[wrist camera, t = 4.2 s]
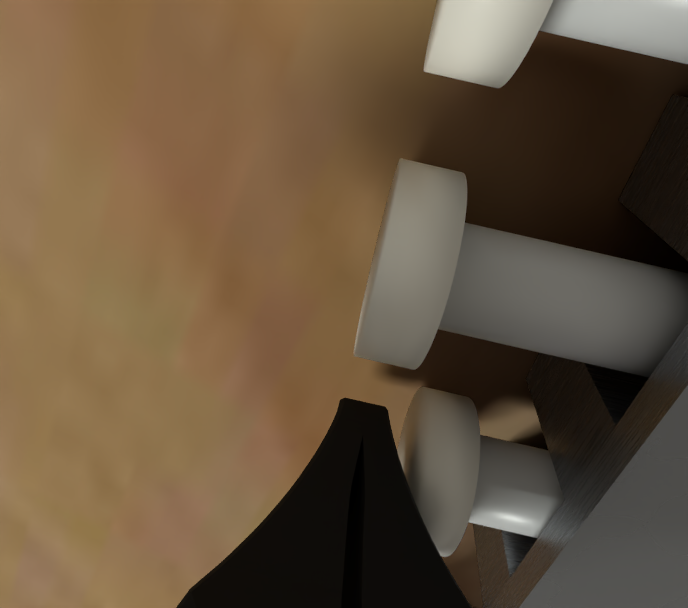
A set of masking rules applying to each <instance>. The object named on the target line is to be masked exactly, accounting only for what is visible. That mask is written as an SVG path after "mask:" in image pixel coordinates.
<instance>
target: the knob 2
mask: <svg viewBox="0 0 688 608" xmlns="http://www.w3.org/2000/svg"><path fill="white" fill-rule="evenodd" d="M397 453H398V456H399V459H400V462H401V465H402V468H403V471H404V474H405V477H406V480H407V483H408V485H409V488H410V491H411V493H412V496H413V498H414V501H415V503H416V506H417V508H418V510H419V513H420V515H421V517H422V519H423V522H424V524H425V526H426V528H427V530H428V532H429V534H430V536H431V538H432V540H433V542H434V544H435V546H436V548H437V550H438V552H439V554H440V556H443V557H448V556H450V555H451V554H452V553H453V552H454V551H455V550H456V548H457V547H458V545H459V544H460V542H461V540H462V538H463V535H464V533H465V530H466V528H467V525H468V522H470V523H474V524H478V525H483V526H487V527H491V528H496V529H500V530H504V531H509V532H513V533H517V534H522V535H526V536H530V537H535V538H538V537H539V536H540V534H541V533H542V531H543V530H544V528H545V527H546V526H547V524H548V523H549V521H550V520H551V518H552V517H553V515H554V514H555V513H556V511H557V510H558V508H559V507H560V505H561V504H562V503H563V501H564V497H563V494H562V491H561V488H560V484H559V481H558V478H557V475H556V472H555V469H554V466H553V462H552V459H551V456H550V453H549V450H544V449H540V448H536V447H531V446H527V445H522V444H518V443H514V442H509V441H505V440H501V439H496V438H492V437H488V436H483V435H480V427H479V419H478V414H477V410H476V407H475V405H474V403H473V401H472V400H471V399H470V398H469V397H466V396H462V395H457V394H453V393H449V392H444V391H440V390H436V389H431V388H427V387H421V388H419V389H418V390H417V392H416V393H415V395H414V397H413V399H412V401H411V404H410V406H409V409H408V412H407V415H406V418H405V421H404V425H403V428H402V432H401V436H400V441H399V445H398V450H397Z"/></svg>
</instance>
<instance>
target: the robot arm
mask: <svg viewBox="0 0 688 608" xmlns="http://www.w3.org/2000/svg"><path fill="white" fill-rule="evenodd" d="M176 608H472V607H471V606H470V604H469V603H468V601H467V600H466V598H465V596H464V595H463V593H462V591H461V590H460V588H459V586H458V585H457V583H456V581H455V580H454V578H453V576H452V575H451V573H450V571H449V570H448V568H447V566H446V565H445V563H444V561H443V559H442V557H441V556H440V554H439V552H438V550H437V548H436V546H435V544H434V542H433V540H432V538H431V536H430V534H429V532H428V530H427V528H426V526H425V524H424V522H423V519H422V517H421V515H420V513H419V510H418V508H417V506H416V503H415V501H414V498H413V496H412V493H411V491H410V488H409V485H408V483H407V480H406V477H405V474H404V471H403V468H402V465H401V462H400V459H399V456H398V453H397V449H396V446H395V442H394V438H393V434H392V430H391V425H390V420H389V415H388V410H387V409H386V407H384V406H379V405H375V404H370V403H366V402H362V401H357V400H353V399H348V398H343V399H341V400H340V403H339V407H338V410H337V413H336V415H335V418H334V420H333V422H332V424H331V426H330V428H329V430H328V432H327V434H326V436H325V438H324V439H323V441H322V443H321V444H320V446H319V448H318V450H317V451H316V453H315V455H314V456H313V458H312V459H311V461H310V462H309V463H308V465H307V466H306V468H305V469H304V471H303V472H302V474H301V475H300V477H299V478H298V479H297V481H296V482H295V483H294V485H293V486H292V487H291V488H290V490H289V491H288V492H287V494H286V495H285V496H284V497H283V498H282V500H281V501H280V502H279V503H278V505H277V506H276V507H275V508H274V509H273V510H272V511H271V512H270V514H269V515H268V516H267V517H266V518H265V519H264V520H263V522H262V523H261V524H260V525H259V526H258V527H257V528H256V529H255V530H254V531H253V532H252V533H251V534H250V535H249V536H248V537H247V538H246V539H245V540H244V541H243V542H242V543H241V544H240V545H239V546H238V547H237V548H236V549H235V550H234V551H233V552H232V553H231V554H230V555H229V556H227V557H226V558H225V559H224V560H223V561H222V562H221V563H220V564H219V565H217V566H216V567H215V568H214V569H213V570H212V571H210V572H209V573H208V574H207V575H206V576H205V577H203V578H202V579H201V580H200V581H199V582H198V583H196V584H195V585H194V586H193V587H192V588H191V589H190V590H189V591H188V593H187V594H186V595H185V597H184V598H183V599H182V601H181V602H180V603H179V605H178V606H177V607H176Z"/></svg>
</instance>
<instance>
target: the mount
mask: <svg viewBox="0 0 688 608" xmlns="http://www.w3.org/2000/svg"><path fill="white" fill-rule="evenodd" d="M619 201H620V202H621V203H622V204H623V205H624V206H626V207H627V208H628V209H629V210H630V211H631V212H632V213H633V214H635V215H636V216H637V217H638V218H639V219H640V220H641V221H643V222H644V223H645V224H646V225H647V226H648V227H649V228H651V229H652V230H653V231H654V232H655V233H656V234H657V235H659V236H660V237H661V238H662V239H663V240H664V241H665V242H667V243H668V244H669V245H670V246H671V247H672V248H673V249H674V250H676V251H677V252H678V253H679V254H680V255H681V256H682V257H684V258H685V259H686V260H687V261H688V98H686V97H682V96H677V95H672V97H671V99H670V101H669V103H668V105H667V107H666V109H665V111H664V113H663V114H662V116H661V118H660V120H659V122H658V124H657V126H656V128H655V130H654V132H653V134H652V136H651V138H650V140H649V142H648V144H647V145H646V147H645V149H644V151H643V153H642V155H641V157H640V159H639V161H638V163H637V165H636V167H635V169H634V171H633V173H632V174H631V176H630V178H629V180H628V182H627V184H626V186H625V188H624V190H623V192H622V194H621V196H620V198H619ZM526 381H527V384H528V387H529V390H530V393H531V396H532V400H533V403H534V406H535V409H536V412H537V415H538V418H539V422H540V425H541V428H542V431H543V434H544V437H545V440H546V444H547V447H548V450H549V453H550V456H551V459H552V462H553V466H554V469H555V472H556V475H557V478H558V481H559V484H560V488H561V491H562V494H563V497H564V501H563V503H562V504H561V505H560V507H559V508H558V510H557V511H556V513H555V514H554V515H553V517H552V518H551V520H550V521H549V523H548V524H547V526H546V527H545V528H544V530H543V531H542V533H541V534H540V536H539V537H538V538H535V537H530V536H526V535H522V534H517V533H513V532H509V531H504V530H500V529H496V528H491V527H487V526H483V525H478V524H474V523H473V527H474V536H475V544H476V552H477V560H478V568H479V576H480V584H481V593H482V601H483V608H688V323H687V324H686V325H685V327H684V328H683V330H682V331H681V333H680V334H679V336H678V337H677V338H676V340H675V341H674V343H673V344H672V346H671V347H670V348H669V350H668V351H667V353H666V354H665V356H664V357H663V359H662V360H661V361H660V363H659V364H658V366H657V367H656V369H655V370H654V372H653V373H652V374H651V376H650V377H644V376H640V375H635V374H631V373H627V372H622V371H618V370H614V369H609V368H605V367H601V366H596V365H592V364H588V363H583V362H579V361H574V360H570V359H566V358H561V357H557V356H553V355H548V354H544V353H539V355H538V356H537V358H536V360H535V362H534V364H533V366H532V368H531V370H530V372H529V374H528V376H527V378H526Z"/></svg>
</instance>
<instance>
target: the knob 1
mask: <svg viewBox="0 0 688 608" xmlns="http://www.w3.org/2000/svg"><path fill="white" fill-rule="evenodd" d="M538 31H543V32H547V33H552V34H556V35H561V36H565V37H569V38H574V39H578V40H583V41H587V42H591V43H596V44H600V45H605V46H609V47H613V48H618V49H622V50H627V51H631V52H635V53H640V54H644V55H648V56H653V57H657V58H662V59H666V60H670V61H675V62H679V63H684V64H688V0H437V4H436V8H435V13H434V17H433V22H432V26H431V31H430V36H429V40H428V45H427V50H426V56H425V62H424V72H428V73H432V74H436V75H441V76H445V77H450V78H454V79H458V80H463V81H467V82H472V83H476V84H480V85H485V86H489V87H494V88H501V87H502V86H504V85H505V84H506V83H507V82H508V81H509V79H510V78H511V77H512V76H513V74H514V73H515V72H516V70H517V69H518V67H519V66H520V64H521V62H522V61H523V59H524V57H525V56H526V54H527V52H528V50H529V49H530V47H531V45H532V43H533V41H534V39H535V38H536V36H537V34H538Z"/></svg>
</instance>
